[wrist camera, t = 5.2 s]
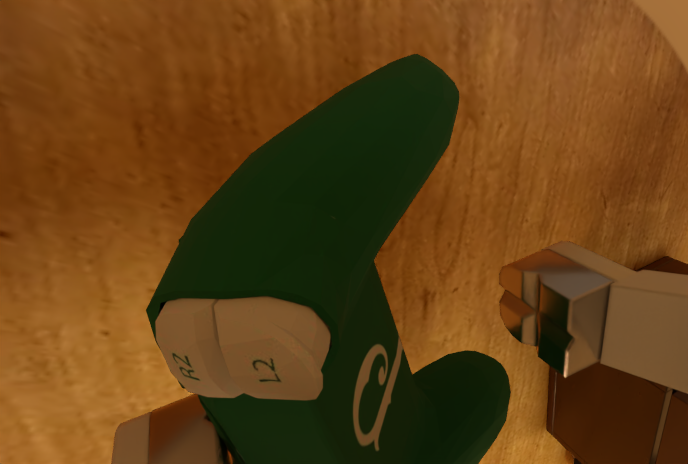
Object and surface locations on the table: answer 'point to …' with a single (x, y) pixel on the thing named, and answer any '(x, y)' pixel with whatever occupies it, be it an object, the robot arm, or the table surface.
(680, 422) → the lid
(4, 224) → the table surface
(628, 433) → the chest
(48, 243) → the table surface
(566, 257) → the robot arm
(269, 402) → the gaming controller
